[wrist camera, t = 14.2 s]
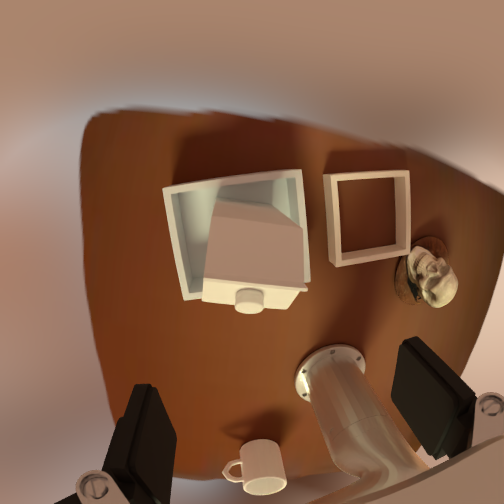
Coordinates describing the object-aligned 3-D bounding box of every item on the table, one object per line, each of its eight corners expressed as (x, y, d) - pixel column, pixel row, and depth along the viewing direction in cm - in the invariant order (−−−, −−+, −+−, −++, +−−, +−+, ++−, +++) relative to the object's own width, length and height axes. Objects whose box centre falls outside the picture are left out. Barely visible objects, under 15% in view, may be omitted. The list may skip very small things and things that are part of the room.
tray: (399, 248, 42) (410, 254, 39) (328, 260, 42) (336, 267, 39) (397, 169, 39) (409, 170, 36) (322, 174, 38) (330, 174, 35)
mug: (225, 434, 50) (227, 474, 40) (284, 439, 52) (293, 477, 42) (217, 456, 52) (218, 493, 42) (271, 460, 53) (278, 495, 44)
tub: (298, 265, 41) (310, 281, 36) (188, 282, 40) (183, 300, 35) (289, 168, 38) (301, 169, 32) (171, 185, 37) (162, 188, 31)
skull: (380, 273, 42) (441, 258, 34) (394, 233, 48) (445, 217, 40) (407, 324, 45) (462, 317, 37) (418, 283, 51) (466, 272, 43)
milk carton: (216, 196, 37) (209, 225, 19) (272, 204, 38) (318, 239, 19) (209, 251, 39) (198, 326, 20) (263, 258, 39) (297, 334, 21)
